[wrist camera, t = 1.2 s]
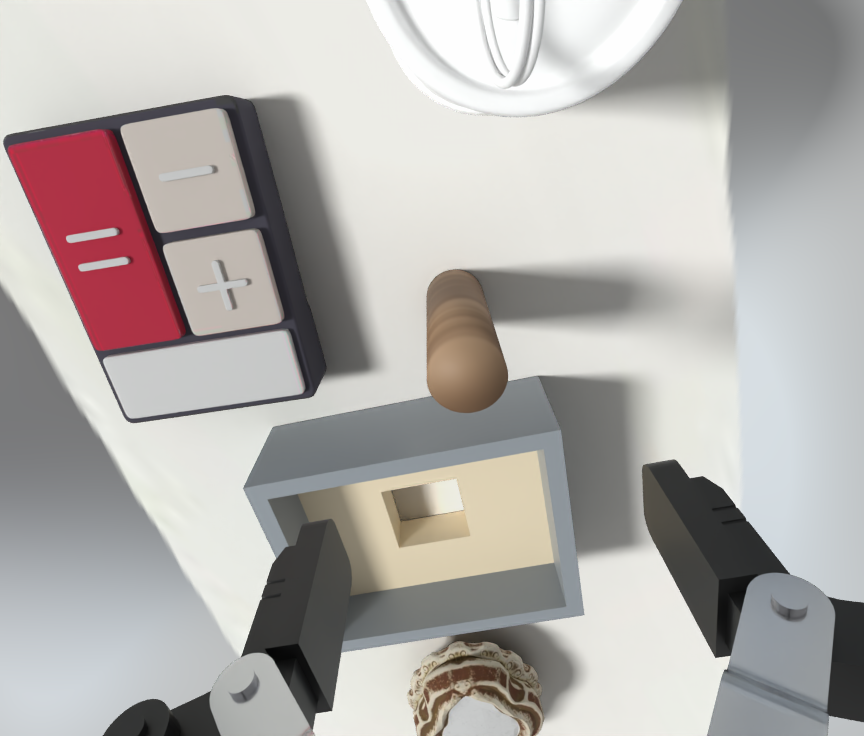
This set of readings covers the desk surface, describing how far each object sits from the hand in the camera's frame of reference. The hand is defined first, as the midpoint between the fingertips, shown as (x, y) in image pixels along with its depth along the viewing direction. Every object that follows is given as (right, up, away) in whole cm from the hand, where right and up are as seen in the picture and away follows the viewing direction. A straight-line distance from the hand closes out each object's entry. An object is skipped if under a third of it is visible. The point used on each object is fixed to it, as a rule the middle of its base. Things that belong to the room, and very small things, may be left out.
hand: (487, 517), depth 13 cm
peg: (0, +8, +16) cm, 18 cm away
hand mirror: (+4, -29, +35) cm, 45 cm away
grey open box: (-2, -4, +22) cm, 23 cm away
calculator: (-14, +10, +16) cm, 23 cm away
